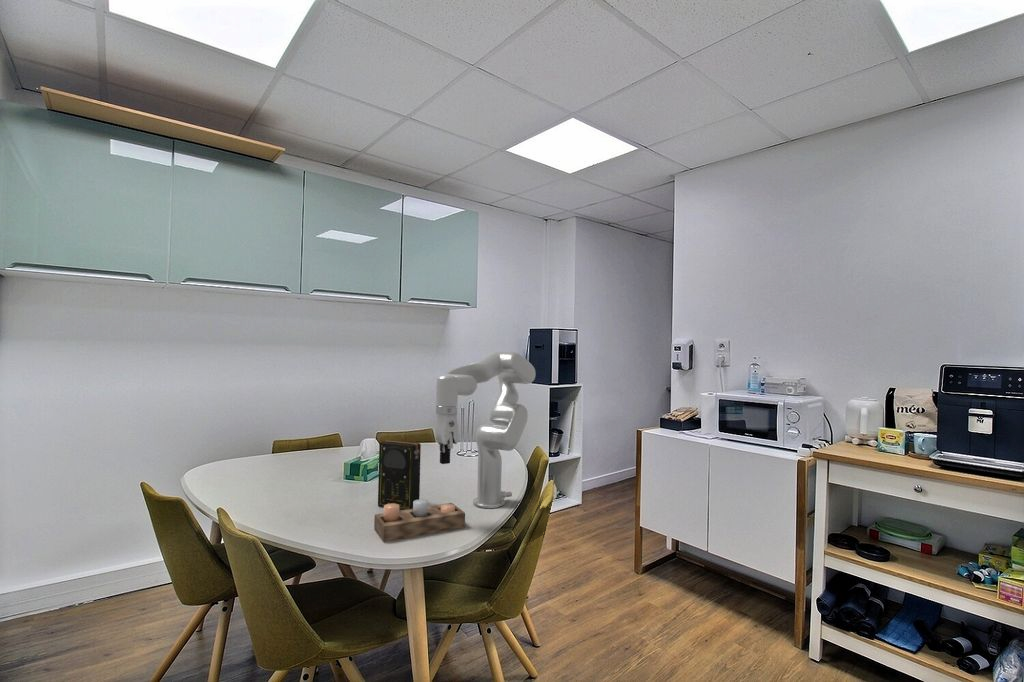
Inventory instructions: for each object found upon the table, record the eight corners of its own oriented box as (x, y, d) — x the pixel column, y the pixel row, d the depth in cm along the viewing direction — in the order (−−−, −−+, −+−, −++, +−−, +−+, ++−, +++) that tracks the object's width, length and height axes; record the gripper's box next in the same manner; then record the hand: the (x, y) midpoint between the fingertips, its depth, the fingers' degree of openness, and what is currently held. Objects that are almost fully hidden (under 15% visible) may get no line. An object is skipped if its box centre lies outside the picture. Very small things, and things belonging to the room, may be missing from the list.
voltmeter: (375, 507, 182) (376, 442, 183) (388, 500, 190) (389, 438, 191) (410, 513, 177) (411, 445, 177) (422, 506, 185) (423, 441, 185)
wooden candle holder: (451, 516, 174) (451, 502, 174) (464, 527, 163) (465, 512, 164) (374, 529, 160) (374, 514, 160) (383, 542, 150) (383, 526, 150)
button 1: (396, 517, 160) (396, 502, 160) (400, 522, 156) (401, 507, 156) (381, 519, 158) (382, 504, 158) (385, 524, 153) (386, 509, 154)
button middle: (424, 512, 165) (425, 498, 165) (429, 517, 161) (430, 502, 161) (410, 515, 163) (411, 500, 163) (415, 519, 158) (415, 504, 158)
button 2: (451, 517, 170) (451, 503, 170) (456, 521, 166) (457, 507, 166) (438, 519, 168) (438, 505, 168) (443, 524, 163) (443, 509, 163)
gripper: (465, 412, 162) (463, 466, 162) (448, 408, 175) (446, 458, 175) (444, 413, 158) (442, 469, 158) (428, 408, 171) (427, 459, 171)
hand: (444, 463), depth 166 cm, fingers closed
